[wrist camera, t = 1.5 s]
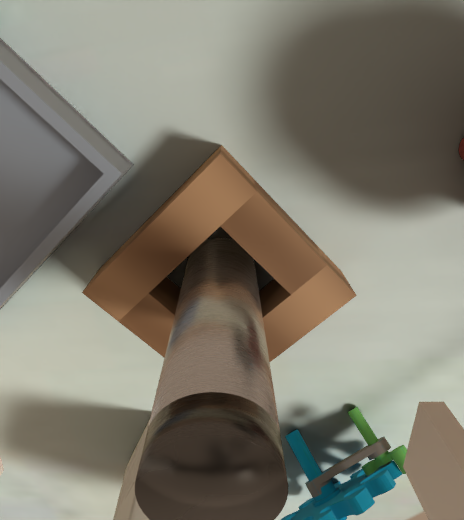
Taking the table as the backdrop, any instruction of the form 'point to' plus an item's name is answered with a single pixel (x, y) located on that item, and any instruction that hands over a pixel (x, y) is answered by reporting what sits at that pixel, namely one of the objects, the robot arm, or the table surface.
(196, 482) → the pin
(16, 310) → the table surface
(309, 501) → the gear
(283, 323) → the socket
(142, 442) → the small box
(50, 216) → the tray
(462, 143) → the mechanical component
